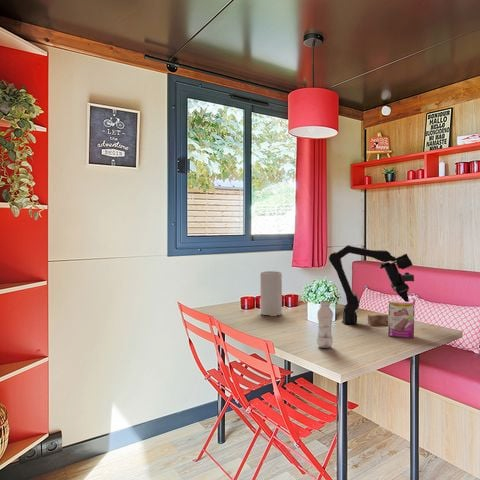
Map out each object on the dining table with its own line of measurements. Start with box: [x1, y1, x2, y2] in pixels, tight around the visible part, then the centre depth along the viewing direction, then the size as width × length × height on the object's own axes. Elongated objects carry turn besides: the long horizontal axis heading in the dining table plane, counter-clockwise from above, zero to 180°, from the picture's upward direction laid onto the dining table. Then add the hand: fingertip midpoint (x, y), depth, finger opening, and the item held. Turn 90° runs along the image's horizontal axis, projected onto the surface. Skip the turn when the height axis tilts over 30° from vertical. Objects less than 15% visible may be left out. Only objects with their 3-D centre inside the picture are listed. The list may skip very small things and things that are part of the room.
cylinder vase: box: [259, 270, 283, 317], centre depth 222 cm, size 12×12×25 cm
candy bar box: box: [387, 300, 415, 339], centre depth 176 cm, size 11×5×16 cm, turn 71°
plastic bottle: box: [316, 300, 334, 349], centre depth 161 cm, size 6×7×20 cm
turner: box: [367, 313, 388, 326], centre depth 199 cm, size 17×6×5 cm, turn 97°
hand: (406, 301), depth 191 cm, fingers open, 9 cm apart
